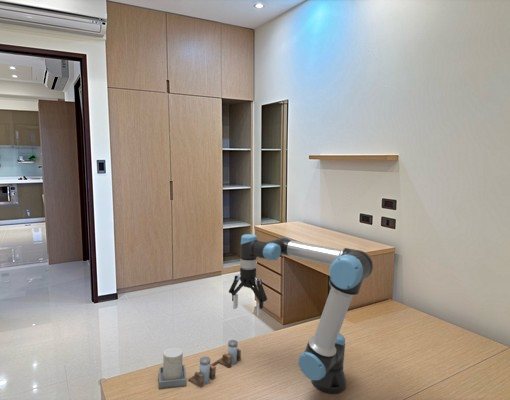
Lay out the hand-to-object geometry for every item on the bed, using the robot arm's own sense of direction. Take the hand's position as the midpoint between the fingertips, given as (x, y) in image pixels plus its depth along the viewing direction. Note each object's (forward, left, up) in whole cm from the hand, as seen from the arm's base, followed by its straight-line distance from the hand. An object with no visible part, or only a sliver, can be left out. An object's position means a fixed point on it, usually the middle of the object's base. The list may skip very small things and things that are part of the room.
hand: (247, 311), depth 165 cm
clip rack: (+7, +12, -26) cm, 30 cm away
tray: (+17, +30, -26) cm, 43 cm away
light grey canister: (+17, +30, -26) cm, 43 cm away
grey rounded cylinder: (+6, +22, -26) cm, 35 cm away
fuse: (+6, +2, -26) cm, 27 cm away
